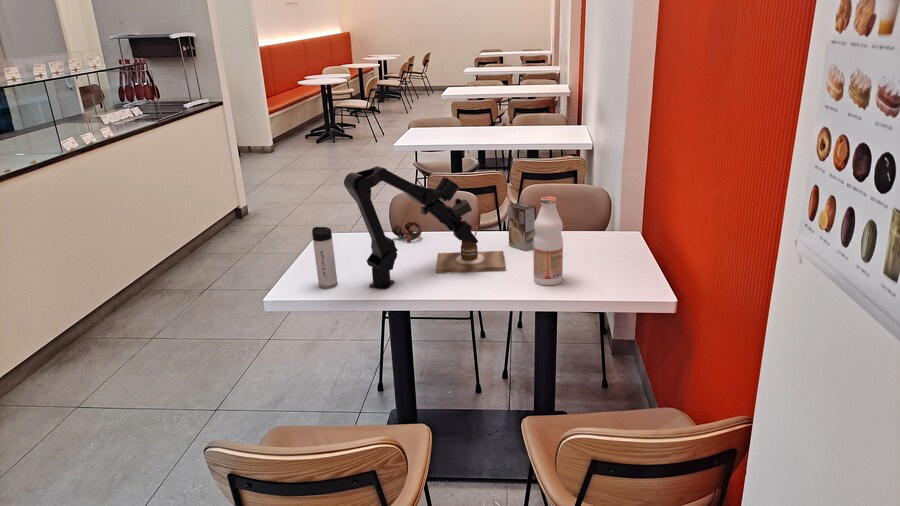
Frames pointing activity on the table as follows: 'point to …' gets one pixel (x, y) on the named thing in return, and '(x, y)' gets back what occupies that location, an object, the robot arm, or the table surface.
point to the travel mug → (324, 257)
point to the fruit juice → (548, 244)
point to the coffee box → (521, 225)
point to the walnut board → (470, 262)
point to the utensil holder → (469, 250)
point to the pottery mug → (407, 231)
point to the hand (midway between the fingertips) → (473, 238)
